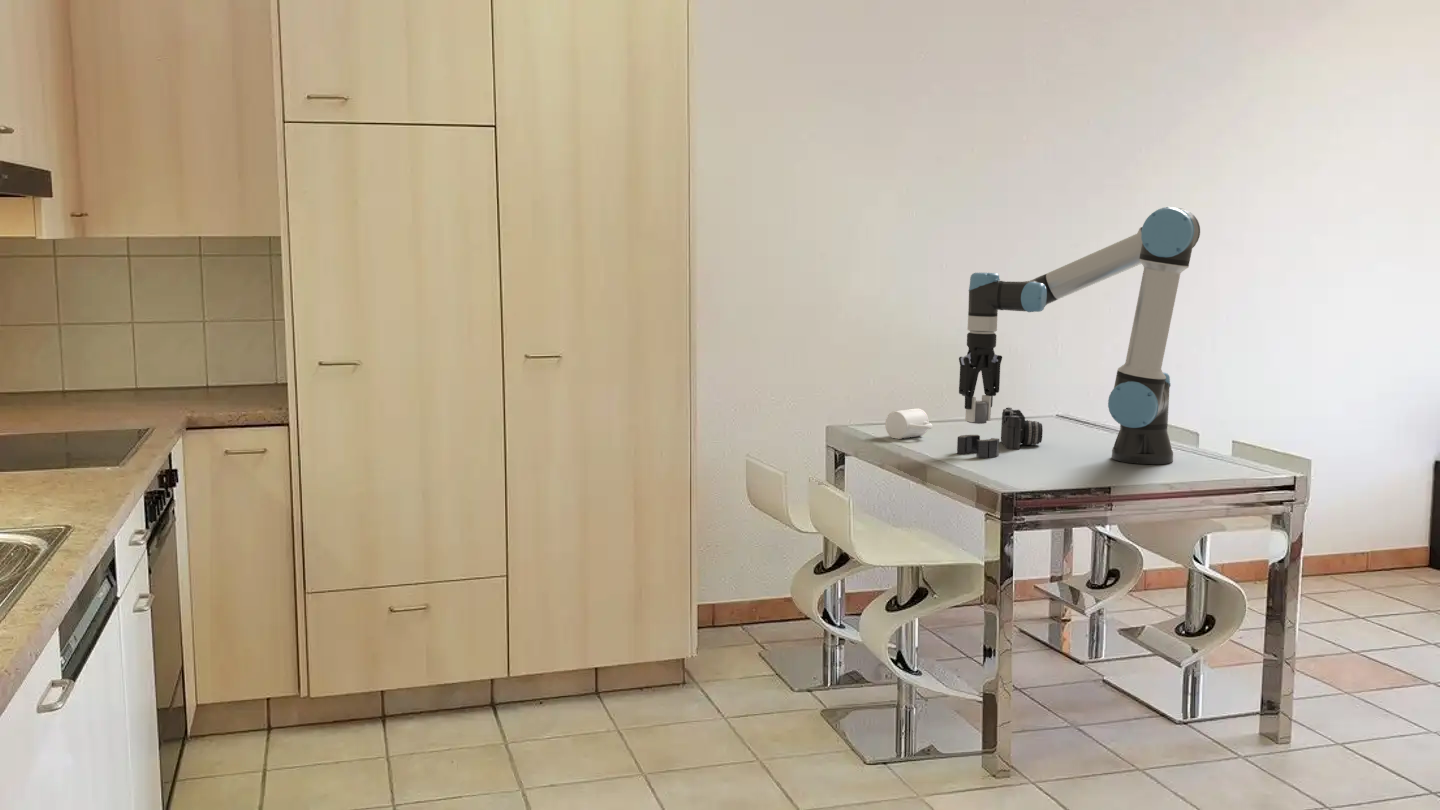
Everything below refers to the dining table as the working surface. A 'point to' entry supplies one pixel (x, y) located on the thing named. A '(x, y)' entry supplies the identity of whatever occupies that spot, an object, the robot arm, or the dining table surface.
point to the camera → (1019, 430)
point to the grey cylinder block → (980, 412)
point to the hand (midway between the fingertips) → (977, 420)
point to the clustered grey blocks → (978, 446)
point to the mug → (907, 423)
